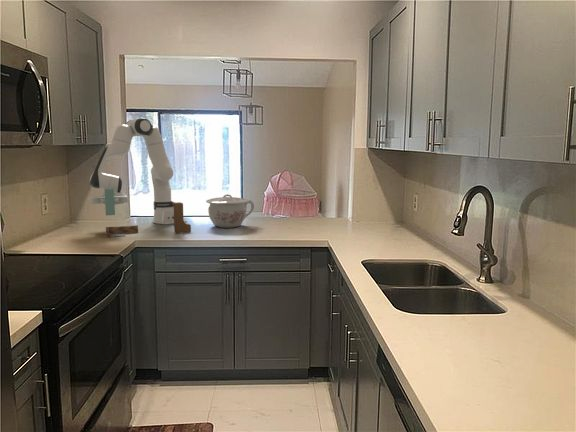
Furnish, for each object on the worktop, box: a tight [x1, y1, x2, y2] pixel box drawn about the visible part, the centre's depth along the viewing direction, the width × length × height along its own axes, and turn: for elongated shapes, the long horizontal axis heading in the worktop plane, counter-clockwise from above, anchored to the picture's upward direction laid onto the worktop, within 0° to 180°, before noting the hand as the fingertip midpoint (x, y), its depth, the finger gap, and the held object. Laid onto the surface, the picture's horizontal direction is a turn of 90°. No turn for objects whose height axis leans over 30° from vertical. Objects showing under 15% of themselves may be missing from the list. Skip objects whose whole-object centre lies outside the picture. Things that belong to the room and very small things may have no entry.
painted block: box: [103, 188, 116, 216], centre depth 280 cm, size 5×5×15 cm
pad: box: [109, 233, 126, 238], centre depth 280 cm, size 8×8×1 cm
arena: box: [105, 225, 139, 239], centre depth 282 cm, size 18×13×4 cm
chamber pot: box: [205, 194, 255, 229], centre depth 312 cm, size 28×28×21 cm
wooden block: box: [173, 201, 192, 234], centre depth 290 cm, size 9×4×18 cm, turn 123°
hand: (109, 201), depth 279 cm, fingers closed on painted block, 5 cm apart
